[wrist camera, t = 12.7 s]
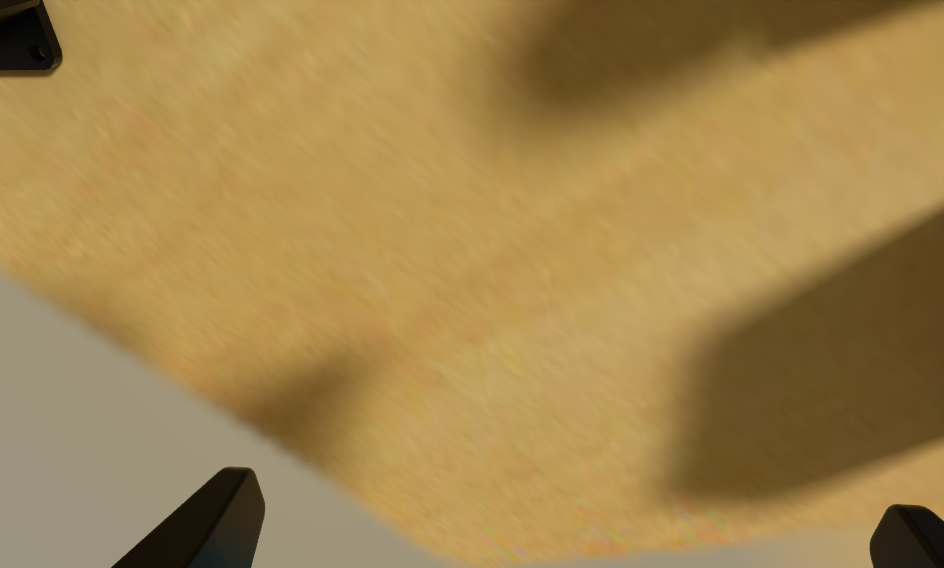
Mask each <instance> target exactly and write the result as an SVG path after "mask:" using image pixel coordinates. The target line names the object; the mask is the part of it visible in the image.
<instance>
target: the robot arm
mask: <svg viewBox="0 0 944 568" xmlns="http://www.w3.org/2000/svg"><path fill="white" fill-rule="evenodd" d="M37 45H39V46H40V47H41V48H42V49H43V50H44V52H45V55H46V57H44V56H43V55H41V54H40V52H39V51H38V48H37ZM61 60H62V51H61V48H60V45H59V42H58V40H57V37H56V35H55V32H54V29H53V27H52V24H51V21H50V19H49V16H48V14H47V11H46V8H45V6H44V3H43V1H42V0H0V70H46V69H50V68H52V67H54V66H57V65H58V64H59V63H60V62H61ZM264 515H265V502H264V498H263V495H262V492H261V489H260V486H259V483H258V480H257V478H256V475H255V472H254V471H253V470H252V469H251V468H245V467H226V468H223V469H222V470H220V471H219V472H218V473H217V474H216V475H214V476H213V477H212V478H211V479H210V480H209V481H208V482H206V484H204V485H203V486H202V487H201V488H200V489H199V490H197V491H196V492H195V493H194V494H193V495H192V496H191V497H190V498H188V499H187V500H186V501H185V502H184V503H183V504H182V505H181V506H180V507H178V508H177V509H176V510H175V511H174V512H173V513H172V514H171V515H169V516H168V517H167V518H166V519H165V520H164V521H163V522H162V523H160V524H159V525H158V526H157V527H156V528H155V529H154V530H153V531H151V533H149V534H148V535H147V536H146V537H145V538H144V539H142V540H141V541H140V542H139V543H138V544H137V545H136V546H135V547H134V548H132V549H131V550H130V551H129V552H128V553H127V554H126V555H125V556H123V557H122V558H121V559H120V560H119V561H118V562H117V563H116V564H114V565H113V566H112V567H111V568H251V566H252V562H253V558H254V554H255V550H256V547H257V543H258V539H259V535H260V531H261V527H262V523H263V520H264ZM870 555H871V560H872V563H873V567H874V568H944V521H943V520H942V519H941V518H939V517H938V516H937V515H936V514H935V513H934V512H932V511H931V510H929V509H927V508H926V507H923V506H919V505H903V504H894V505H892V506H890V507H888V509H887V510H886V512H885V514H884V515H883V517H882V519H881V521H880V523H879V524H878V526H877V528H876V530H875V532H874V533H873V535H872V538H871V541H870Z"/></svg>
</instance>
